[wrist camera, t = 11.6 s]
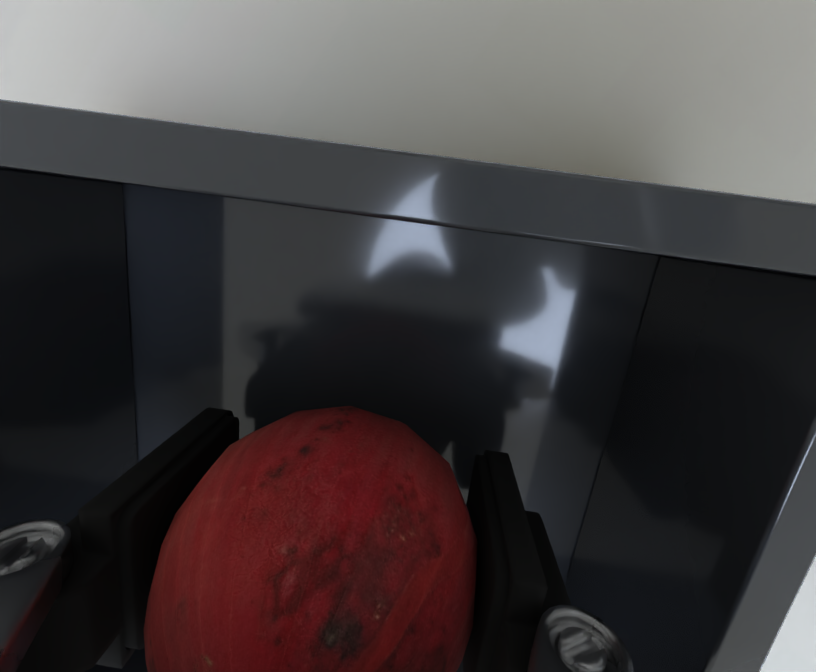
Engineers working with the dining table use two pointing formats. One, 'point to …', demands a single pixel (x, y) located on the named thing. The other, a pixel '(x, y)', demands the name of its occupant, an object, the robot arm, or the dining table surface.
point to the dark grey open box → (430, 345)
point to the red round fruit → (317, 555)
